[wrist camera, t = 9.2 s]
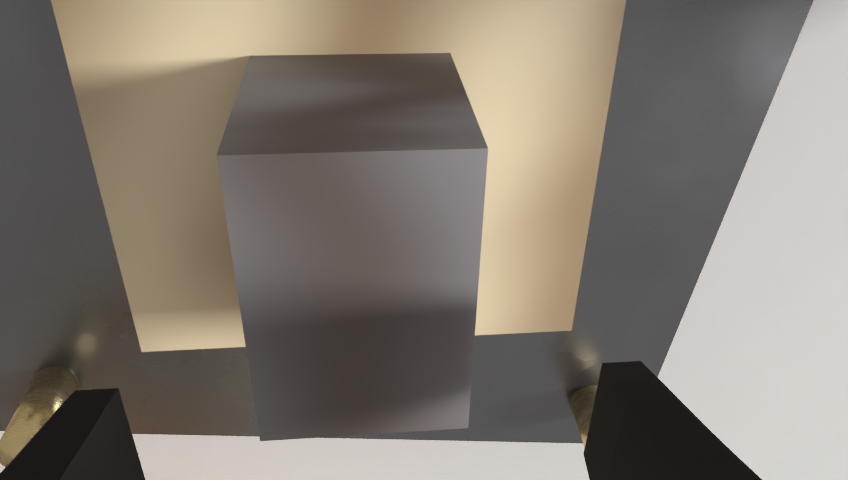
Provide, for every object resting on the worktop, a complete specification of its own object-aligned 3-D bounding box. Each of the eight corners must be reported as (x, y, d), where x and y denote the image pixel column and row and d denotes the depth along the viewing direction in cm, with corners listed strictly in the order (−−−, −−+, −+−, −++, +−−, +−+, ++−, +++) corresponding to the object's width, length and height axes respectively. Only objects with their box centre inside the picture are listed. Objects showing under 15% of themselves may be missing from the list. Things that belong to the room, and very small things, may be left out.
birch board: (614, -37, 15) (735, 46, 10) (562, 307, 20) (628, 467, 15) (63, -35, 14) (-76, 58, 9) (150, 326, 19) (88, 504, 14)
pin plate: (845, -154, 15) (968, -138, 12) (619, 420, 24) (658, 510, 21) (-163, -321, 12) (-324, -353, 9) (7, 404, 21) (-47, 506, 18)
